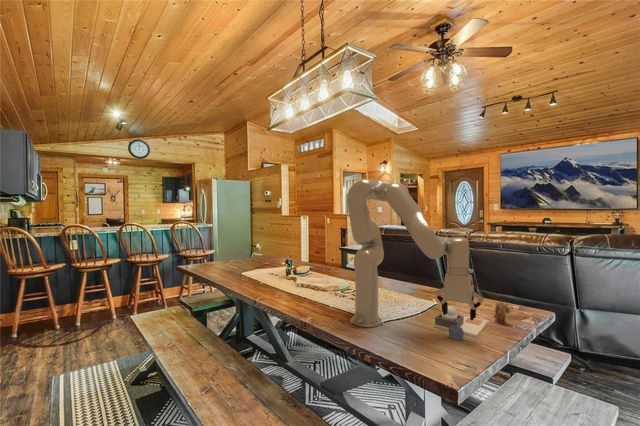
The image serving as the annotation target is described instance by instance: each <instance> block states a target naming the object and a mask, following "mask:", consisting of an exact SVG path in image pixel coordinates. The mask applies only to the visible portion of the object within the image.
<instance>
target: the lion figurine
mask: <svg viewBox="0 0 640 426" xmlns="http://www.w3.org/2000/svg"><path fill="white" fill-rule="evenodd" d="M494 309H495V314H494V315H493V318H495V319H496V320H495V323H499V322H500V319H499V317H501V321H502V323H504V324H506V322H507V321H505V319H506V315H507V314H510V313H511V311H512V309H511V308H510V307H509V306H508V304H507V302H501V301H498V302H496V303H495V308H494Z"/></svg>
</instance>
